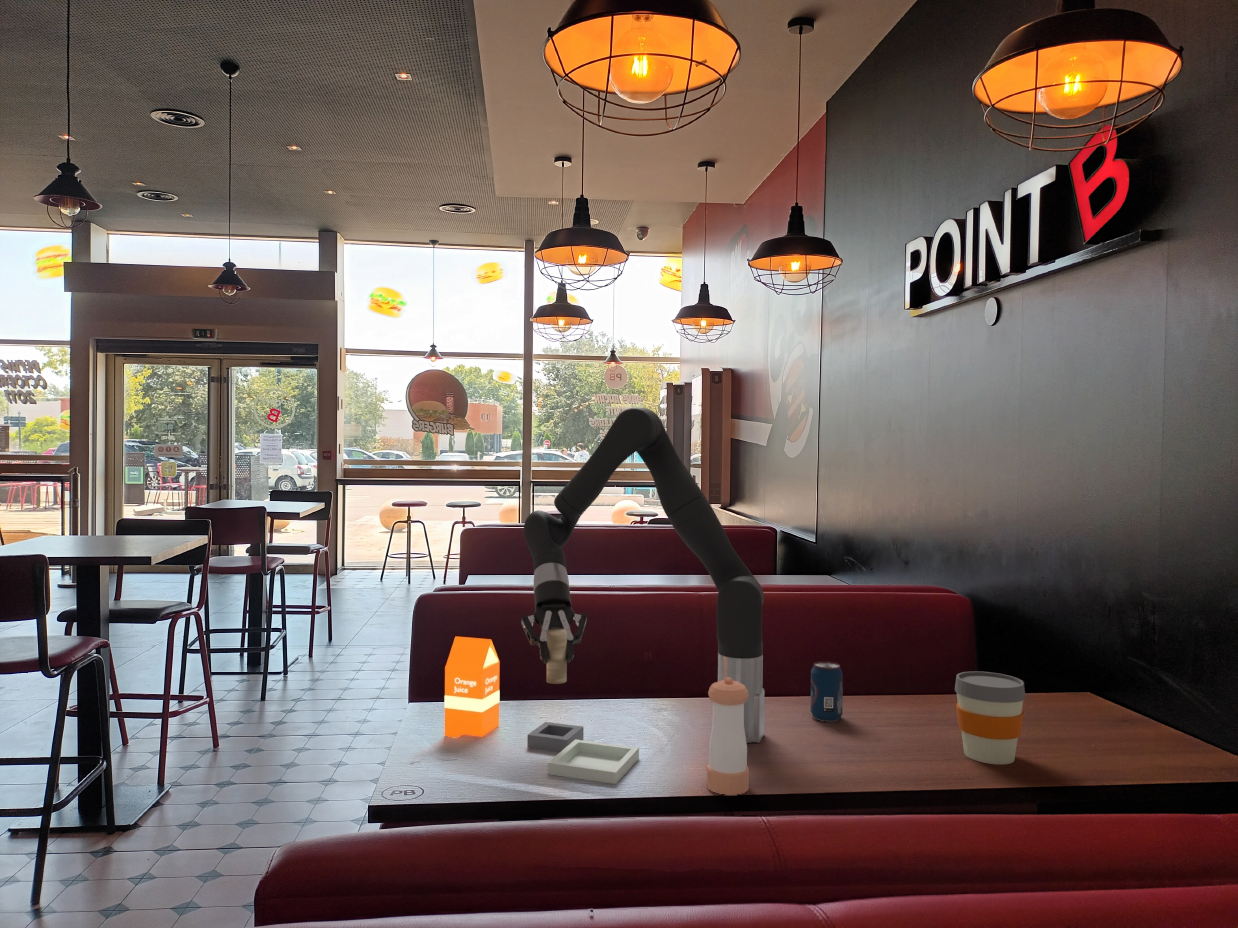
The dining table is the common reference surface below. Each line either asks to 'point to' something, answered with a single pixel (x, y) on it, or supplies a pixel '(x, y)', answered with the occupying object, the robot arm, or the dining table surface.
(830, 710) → the soda can
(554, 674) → the dowel
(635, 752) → the tray
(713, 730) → the pepper shaker
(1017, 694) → the reusable coffee cup
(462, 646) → the orange juice
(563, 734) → the grey square socket
